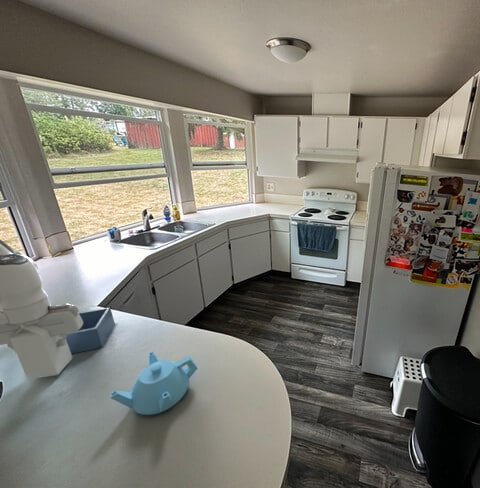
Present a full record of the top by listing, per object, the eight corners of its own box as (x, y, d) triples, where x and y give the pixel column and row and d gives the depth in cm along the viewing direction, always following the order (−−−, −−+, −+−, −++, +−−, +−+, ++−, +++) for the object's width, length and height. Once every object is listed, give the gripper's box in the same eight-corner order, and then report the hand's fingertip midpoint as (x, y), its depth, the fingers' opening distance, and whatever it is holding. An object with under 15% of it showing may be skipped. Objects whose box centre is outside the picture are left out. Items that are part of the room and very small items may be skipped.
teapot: (170, 425, 64) (163, 394, 61) (114, 420, 65) (104, 389, 61) (201, 376, 79) (197, 348, 75) (155, 372, 79) (149, 345, 76)
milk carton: (27, 380, 74) (3, 326, 67) (45, 361, 80) (25, 311, 74) (57, 375, 76) (37, 323, 69) (73, 358, 82) (55, 308, 76)
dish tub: (51, 358, 83) (43, 338, 80) (70, 332, 95) (64, 314, 92) (102, 347, 88) (96, 328, 86) (115, 324, 100) (110, 307, 97)
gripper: (80, 297, 77) (91, 334, 82) (-15, 310, 70) (3, 349, 74) (70, 308, 72) (83, 347, 77) (-34, 323, 64) (-13, 365, 69)
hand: (43, 348), depth 75 cm, fingers closed on milk carton, 7 cm apart
